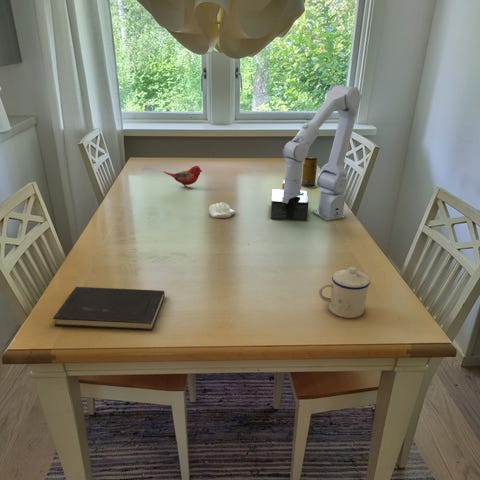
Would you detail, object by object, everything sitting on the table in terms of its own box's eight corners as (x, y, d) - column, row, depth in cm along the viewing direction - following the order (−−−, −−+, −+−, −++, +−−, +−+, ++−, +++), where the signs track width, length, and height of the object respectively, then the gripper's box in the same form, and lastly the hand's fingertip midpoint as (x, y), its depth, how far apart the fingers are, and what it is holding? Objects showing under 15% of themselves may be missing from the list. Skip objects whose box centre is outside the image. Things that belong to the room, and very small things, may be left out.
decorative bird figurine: (201, 191, 203) (201, 167, 198) (162, 187, 207) (161, 163, 202) (203, 189, 205) (203, 165, 200) (165, 185, 209) (164, 161, 204)
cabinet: (306, 220, 176) (308, 202, 172) (270, 218, 176) (271, 201, 173) (304, 207, 188) (306, 190, 184) (271, 206, 188) (272, 189, 185)
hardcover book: (152, 330, 111) (151, 322, 110) (54, 326, 112) (52, 317, 111) (164, 297, 125) (164, 289, 124) (77, 293, 126) (76, 285, 125)
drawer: (306, 223, 171) (307, 209, 168) (272, 221, 172) (273, 207, 169) (303, 207, 186) (304, 194, 183) (272, 206, 186) (273, 193, 184)
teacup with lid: (360, 301, 125) (367, 260, 119) (367, 319, 118) (376, 277, 112) (314, 300, 125) (319, 259, 119) (319, 318, 118) (324, 275, 112)
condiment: (308, 181, 219) (310, 154, 212) (322, 186, 213) (325, 158, 207) (296, 184, 215) (299, 156, 209) (310, 188, 209) (313, 160, 203)
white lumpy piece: (205, 199, 180) (230, 197, 183) (205, 210, 182) (230, 208, 185) (212, 207, 172) (238, 205, 175) (212, 219, 174) (238, 217, 177)
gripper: (297, 185, 156) (294, 225, 163) (310, 175, 167) (306, 213, 174) (277, 182, 158) (274, 222, 165) (291, 172, 169) (288, 210, 177)
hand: (290, 217), depth 170 cm, fingers closed, pressing on drawer
